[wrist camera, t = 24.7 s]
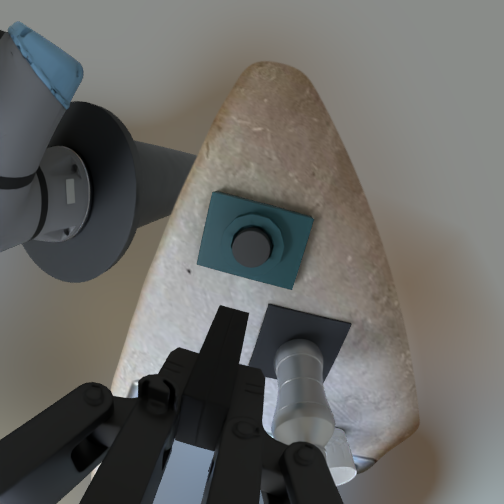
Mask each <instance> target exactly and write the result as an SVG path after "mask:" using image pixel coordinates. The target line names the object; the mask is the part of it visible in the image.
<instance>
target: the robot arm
mask: <svg viewBox="0 0 504 504" xmlns="http://www.w3.org/2000/svg"><path fill="white" fill-rule="evenodd" d="M82 78H83V68H82V66H81V64H80V63H79V62H78V61H77V60H75V59H74V58H73V57H71V56H70V55H69V54H67V53H66V52H64V51H63V50H62V49H60V48H59V47H57V46H56V45H54V44H53V43H52V42H50V41H49V40H47V39H45V38H44V37H43V36H41V35H40V34H38V33H36V32H35V31H33V30H32V29H30V28H28V27H27V26H26V25H24V24H23V23H21V22H18V21H17V22H15V23H14V24H13V25H12V26H10V27H9V28H8V32H4V31H1V30H0V252H2V251H4V250H7V249H9V248H12V247H14V246H17V245H19V244H22V243H24V242H27V241H30V240H41V241H49V242H61V241H66V240H68V239H71V238H73V237H75V236H76V235H78V234H79V233H80V232H81V231H82V230H83V228H84V227H85V225H86V224H87V222H88V220H89V217H90V214H91V211H92V207H93V200H94V185H93V178H92V174H91V171H90V168H89V166H88V163H87V162H86V160H85V158H84V157H83V156H82V155H81V154H80V153H79V152H78V151H77V150H75V149H73V148H71V147H67V146H54V147H50V148H47V146H48V144H49V142H50V140H51V137H52V135H53V133H54V131H55V129H56V127H57V125H58V123H59V122H60V120H61V118H62V116H63V114H64V113H65V111H66V109H68V108H69V106H70V102H71V100H72V98H73V96H74V94H75V92H76V90H77V88H78V86H79V85H80V83H81V81H82ZM46 148H47V149H46ZM248 316H249V313H247V312H243V311H239V310H236V309H232V308H229V307H225V306H221V305H220V306H219V308H218V311H217V313H216V315H215V318H214V320H213V322H212V325H211V327H210V329H209V332H208V334H207V336H206V339H205V341H204V343H203V346H202V348H201V350H200V353H196V352H192V351H189V350H186V349H183V348H180V347H179V348H177V349H175V350H174V351H172V352H170V354H169V356H168V358H167V359H166V362H165V363H164V364H163V366H162V368H161V370H160V371H159V373H158V374H154V375H147V376H145V377H143V378H141V379H140V380H139V381H138V397H137V398H123V397H116V396H113V395H112V393H111V391H110V390H109V389H108V388H107V387H106V386H104V385H102V384H99V383H94V382H91V383H85V384H82V385H80V386H79V387H77V388H76V389H74V390H73V391H71V392H70V393H69V394H67V395H66V396H64V397H63V398H61V399H60V400H59V401H57V402H55V403H54V404H53V405H51V406H50V407H48V408H47V409H45V410H44V411H42V412H41V413H39V414H38V415H37V416H35V417H34V418H32V419H31V420H29V421H28V422H26V423H25V424H23V425H22V426H20V427H19V428H17V429H16V430H14V431H13V432H12V433H10V434H9V435H7V436H5V437H4V438H2V439H1V440H0V504H56V503H58V501H60V500H61V499H62V498H63V497H64V496H65V495H67V494H68V493H69V492H70V491H71V490H72V489H73V488H74V487H75V486H76V485H77V484H79V483H80V482H81V481H82V480H83V479H84V478H85V477H86V476H87V475H88V474H89V473H90V472H91V471H92V470H94V469H95V468H96V467H97V466H98V465H99V464H100V463H101V462H102V463H101V465H100V466H99V468H98V470H97V472H96V474H95V475H94V477H93V479H92V481H91V483H90V485H89V486H88V488H87V490H86V492H85V494H84V496H83V497H82V499H81V501H80V503H79V504H153V501H154V498H155V495H156V493H157V490H158V487H159V484H160V482H161V479H162V476H163V473H164V471H165V468H166V465H167V463H168V460H169V457H170V454H171V451H172V445H173V442H174V439H175V440H177V441H180V442H183V443H186V444H190V445H193V446H197V447H200V448H204V449H208V450H211V451H215V452H214V456H213V459H212V462H211V464H210V467H209V470H208V472H209V474H208V478H207V482H206V486H205V490H204V494H203V498H202V502H201V504H259V498H260V490H261V493H262V497H263V501H264V504H343V502H342V499H341V496H340V494H339V492H338V489H337V487H336V484H335V482H334V480H333V477H332V475H331V472H330V470H329V467H328V465H327V463H326V460H325V458H324V455H323V453H322V452H321V450H320V449H319V448H318V447H316V446H315V445H314V444H311V443H308V442H303V441H298V442H293V443H291V444H290V445H287V444H284V443H282V442H280V441H277V440H275V439H274V438H272V437H271V436H269V435H268V434H267V433H266V431H265V430H264V428H263V425H262V415H263V402H264V389H265V388H264V387H265V377H264V374H263V372H262V370H261V369H258V368H254V367H249V366H245V365H241V364H239V361H240V356H241V351H242V346H243V341H244V336H245V331H246V326H247V321H248Z"/></svg>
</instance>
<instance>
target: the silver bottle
mask: <svg viewBox="0 0 504 504" xmlns="http://www.w3.org/2000/svg"><path fill="white" fill-rule="evenodd" d="M274 368H275V372H276V375H277V381H278V397H277V405H276V409H275V413H274V417H273V421H272V427H271V431H272V434H273V437H274V439H275V440H277V441H280V442H282V443H284V444H287V445H290V444H291V443H293V442H298V441H303V442H308V443H311V444H314V445H315V446H316V447H318V448H319V449H320V450H321V452H322V453H323V455H324V458H325V460H326V463H327V459H326V457H327V452H326V449H325V448H324V447H325V446H326V445H327V444H328V442H329V441H330V439H331V437H332V435H333V433H334V429H335V420H334V416H333V414H332V411H331V408H330V406H329V404H328V401H327V399H326V395H325V391H324V387H323V375H322V371H323V355H322V353H321V351H320V349H319V348H318V346H317V345H316V344H315V343H313V342H311V341H309V340H306V339H293V340H290V341H287V342H286V343H284V344H283V345H281V346H280V347H279V349H278V350H277V352H276V355H275V359H274Z"/></svg>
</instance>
